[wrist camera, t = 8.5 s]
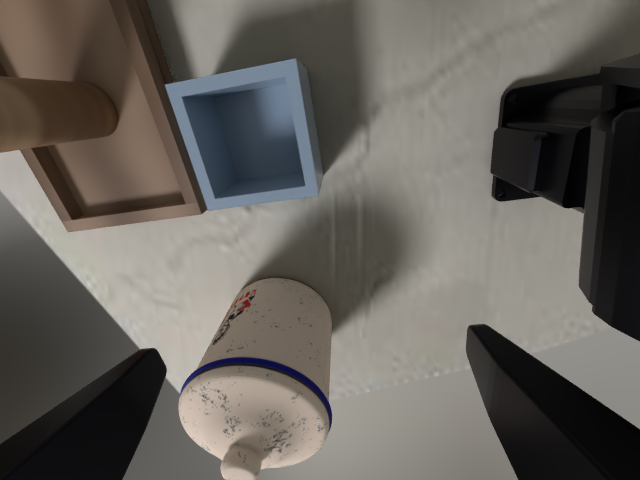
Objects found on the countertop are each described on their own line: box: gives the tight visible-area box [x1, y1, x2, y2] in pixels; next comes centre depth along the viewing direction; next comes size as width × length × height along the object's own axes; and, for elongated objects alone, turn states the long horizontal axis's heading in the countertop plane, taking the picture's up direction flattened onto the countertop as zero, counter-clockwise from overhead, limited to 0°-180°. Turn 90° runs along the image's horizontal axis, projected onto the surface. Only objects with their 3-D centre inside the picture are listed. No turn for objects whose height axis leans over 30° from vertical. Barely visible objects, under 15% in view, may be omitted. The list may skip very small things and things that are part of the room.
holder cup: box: [165, 58, 324, 211], centre depth 16 cm, size 6×6×4 cm
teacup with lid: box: [179, 278, 332, 480], centre depth 20 cm, size 12×9×12 cm
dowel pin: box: [0, 76, 118, 153], centre depth 13 cm, size 3×3×10 cm
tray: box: [0, 0, 207, 232], centre depth 17 cm, size 10×14×2 cm
